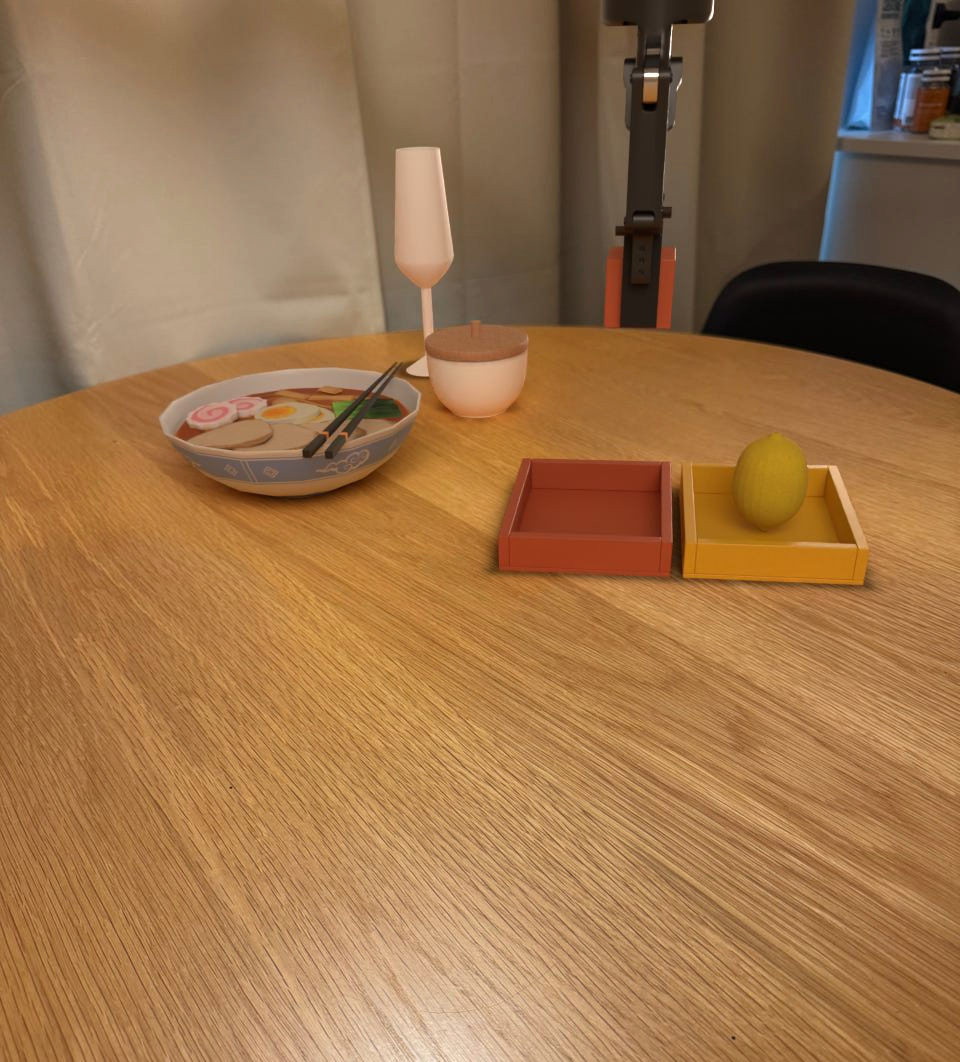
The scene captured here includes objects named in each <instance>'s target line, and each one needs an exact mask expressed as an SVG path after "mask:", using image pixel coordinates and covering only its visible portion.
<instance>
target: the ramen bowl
mask: <svg viewBox="0 0 960 1062" xmlns="http://www.w3.org/2000/svg"><path fill="white" fill-rule="evenodd" d="M403 363H404V362H403V361H401V362H400V363H399V364H398V361H396V362H394V363H393V364H392V365H391V366H390V367H389V368H388V369H387V370H385V372H383V373H382V372H379V371H375V370H365V369H357V368H356V369H355V368H346V367H335V366H333V367H332V366H331V367H307V368H305V367H304V368H303V367H302V368H301V367H300V368H286V369H278V370H271V371H264V372H256V373H249V374H243V375H239V376H236V377H231V378H228V379H225V380H220V381H217V382H214V383H210V384H207V385H202V386H200V387H199V388H197V389H194V390H191V391H190V392H188V393H186V394H183V395H181V396H179V397H178V398H175V399H173V400H171V401H170V403H169V404H168V405H167V406H166V407H165V409H164V410H163V411H162V412H161V413H160V414H159V416H158V417H157V418H158V419H157V420H158V421H159V425H160V427H161V429H162V432H163V434H164V436H165V438H166V439H167V440H168V441H169V443H170V444H171V445H172V447H173V448H174V450H176V452H178V454H179V455H181V456H182V458H184V460H186V461H187V462H188V463H189V464H190V465H191V466H192V467H193V468H195V469H196V470H197V471H199V472H200V473H201V474H202V475H204V476H205V477H208V478H209V479H212V480H214V481H216V482H219V483H221V484H223V485H225V486H227V487H229V488H232V489H234V490H237V491H239V492H245V493H251V494H258V495H263V496H269V497H270V496H271V497H278V498H284V499H301V498H303V499H304V498H310V497H315V496H321V495H324V494H326V493H329V492H331V491H334V490H336V489H339V488H341V487H344V486H346V485H347V486H348V485H349V484H353V483H355V482H357V481H360V480H362V479H364V478H366V477H367V476H368V475H370V474H371V473H372V472H374V471H376V470H377V469H378V468H379V467H381V466H382V465H383V464H385V463H386V462H387V461H389V460H390V459H391V458H393V457H394V455H395V454H396V453H397V451H398V450H399V449H400V448H401V446H402V445H403V444H404V442H405V440H406V438H407V437H408V435H409V434H410V432H411V430H412V428H413V427H414V424H415V421H416V418H417V416H418V413H419V412H420V405H421V400H422V392H421V391H420V390H418V389H417V388H416V387H415V386H414V385H413V384H411V383H410V382H409V381H408V380H407V379H403V378H400V377H396V376H395V375H396V374H397V372H398V371H399V369H400V368H401V367H402V366H403ZM397 364H398V365H397ZM396 366H397V367H396ZM394 367H396V368H395V369H394V370H393V368H394ZM392 370H393V371H392ZM391 371H392V372H391ZM390 372H391V373H390ZM389 373H390V375H389Z"/></svg>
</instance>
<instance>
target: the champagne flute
mask: <svg viewBox="0 0 960 1062" xmlns="http://www.w3.org/2000/svg"><path fill="white" fill-rule="evenodd" d="M394 168H395V174H394V175H395V178H394V179H395V180H394V248H393V249H394V251H393V252H394V253H393V254H394V255H393V256H394V262H395V265H396V266H397V267H398V269H399V270H400V271H401V273H402V274H403V275H404V276H405V277H406V278H407V279H408V280H410V282H411V283H413V284H414V285H415V286H417V287H419V288H420V294H421V295H420V296H421V313H422V329H423V345H424V347H425V343H424V342H425V339H426V337H427V336H429V335H430V334H432V333H434V332H435V330H434V317H433V316H434V315H433V299H432V297H433V295H432V287H433V286H435V285H436V284H437V283H438V282H440V280H441V279H442V278H443V277H444V276H445V275H446V273H447V272H448V270H449V269H450V267H451V266H452V263H453V261H454V257H455V254H454V247H453V246H454V245H453V238H452V232H451V231H452V230H451V224H450V217H449V209H448V201H447V194H446V193H447V192H446V186H445V179H444V171H443V170H444V169H443V164H442V156H441V149H440V147H437V146H412V147H402V148H397V149H395V167H394ZM405 370H406V371H405V372H406V373H407V374H409V375H411V376H416V377H429V373H428V367H427V356H426V351H425V350H424V356H422V357H421V358H420V359H418V360H416V361H415V362H414V363H412V364H411V365H410V366H408V367H407V368H406V369H405Z"/></svg>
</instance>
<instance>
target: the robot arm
mask: <svg viewBox="0 0 960 1062" xmlns="http://www.w3.org/2000/svg"><path fill="white" fill-rule="evenodd" d="M714 6H715V0H600V12H599V17H600V21H601V23H602V24H603V25H604V26H606V27H633V26H634V27H637V34H636V35H637V36H636V50H635V53H636V54H635V57H625V58H623V59H624V60H623V71H622V72H623V74H622V81H623V87H624V88H625V104H624V105H625V106H624V107H625V109H624V125H625V128H626V130H627V131H629V143H628V163H627V164H628V165H627V184H626V185H627V186H626V204H625V205H626V206H625V207H626V208H625V216H624V217H623V225H615V226H614V227H615V228H614V231H615V232H614V236H615V237H623V247H624V249H623V271H622V293H621V315H620V327H632V328H631V329H643V328H656V324H657V309H658V293H659V278H660V262H661V247H663V231H664V220H665V219H672V217H673V216H672V214H673V206H664V205H663V204H664V202H665V197H666V194H665V193H664V183H665V169H666V152H667V137H668V133H669V131H671V130H673V128H674V127H675V125H676V109H677V95H678V89H679V88H680V86H681V84H682V79H683V78H682V75H683V63H684V62H683V60H684V57H683V56H682V55H681V56H679V55H678V56H673V54H672V53H671V52H672V35H673V25H699V24H700V25H702V24H706V23H708V22H709V21H711V19H712V18H713V15H714Z"/></svg>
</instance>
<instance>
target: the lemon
mask: <svg viewBox="0 0 960 1062" xmlns="http://www.w3.org/2000/svg"><path fill="white" fill-rule="evenodd" d="M736 463H737V464H736V467H735V471H734V475H733V482H732V494H733V500H734V503H735V506H736V508H737V510H738V512H739V513H740V514H741V515H742V516H743V518H745V519H746V520H747V521H749V522H750V523H752V524H755V525H756V526H757V527H758V528H759V529H760V530H761V531H768V530H769V529H771V528H772V527H773V526H777V525H781V524H783V523H785V522H787V521H788V520H790V519H791V518H792V517H793V516H794V515H795V514H796V513H797V512H798V511H799V509H800V508H801V506H802V504H803V501H804V499H805V495H806V492H807V487H808V467H807V465H808V462H807V459H806V456H805V454H804V451H803V450H802V449H801V447H800V446H799V445H798V444H797V443H796V442H795V441H793V440H792V439H790V438H788V437H786V436H784V435H782V433H781V432H780V431H771V432H770V433H769V434H767V435H764V436H760V437H759V438H757V439H754V440H752V441H751V442H750V443H749V444H748V445H747V446H746V447H745V448H744V449H743V451H742V452H741V453H740V455H739V457H738V458H737V461H736Z"/></svg>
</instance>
